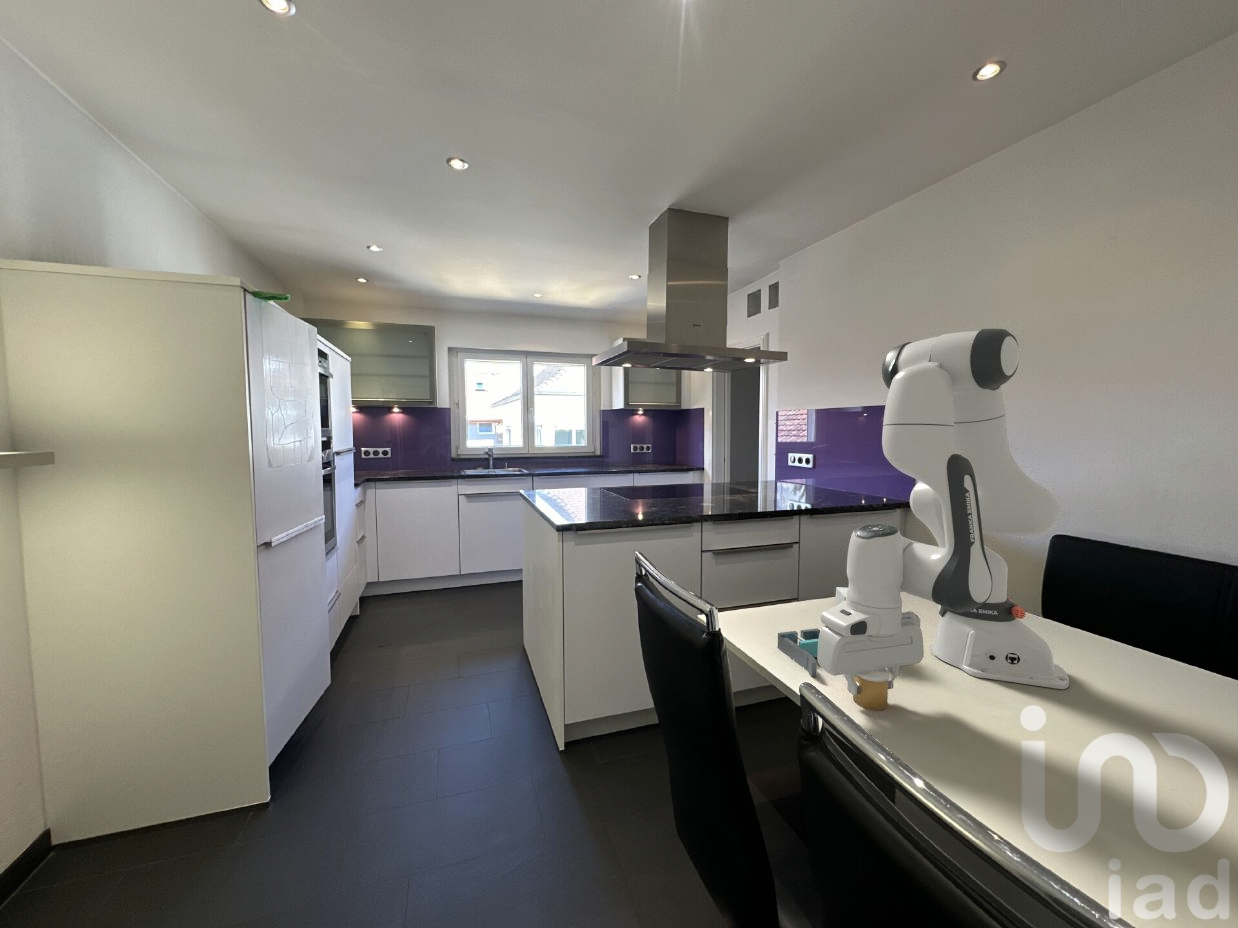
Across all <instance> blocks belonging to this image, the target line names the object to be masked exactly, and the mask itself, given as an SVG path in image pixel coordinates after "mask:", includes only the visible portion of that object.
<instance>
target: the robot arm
mask: <svg viewBox="0 0 1238 928" xmlns="http://www.w3.org/2000/svg"><path fill="white" fill-rule="evenodd" d="M1019 362H1020V347H1019V343H1018V340H1017V338H1016V336H1015V335H1014V334H1012V333H1011V332H1010V331H1009V330H1007V329H1005V328H982V329H980V330H972V331H971V330H969V331H959V332H950V333H943V334H941V335H939V336H933V337H929V338H925V339H921V340H917V341H913V342H911V341H910V342H909V341H907V342H905V343H901V344H899V345H896V346H894V347H893V348H891V349H890V350H889V352H888V353H887V354H886V356H885V357H884V359H883V361H882V365H881V375H882V380H883V382H884V385H885V386H886V388H887V389H888V393H887V397H886V402H885V408H884V414H883V421H882V422H883V423H882V435H881V445H882V452H883V455H884V457H885V458H886V460H887V461H888V462H889V463H890V464H891V465H892V466H893V467H894V469H896V470H898V471H899V472H901V473H903V474H905V475H907V476H908V477H910V478H913V479H915V480H917V481H919V482H917V484H915V486H913V487H912V490H911V492H910V495H909V496H910V497H909V506H910V510H911V511H912V513H913V514H914V516H915V518H917V519H918V520H919V521H920V522H921V523H922V524H924V525H925V527H927V528H928V530H929V531H930V532H931V534H932V535H933V537H934V539H935V541H936V544H937V546H936V545H932V544H927V543H923V542H919V541H915V540H912V539H910V538H907V537H905V536H903V535H902V534H901V531H900V530H899V528H897V527H895V526H894V525H893V526H892V525H890V524H884V523H883V524H882V523H876V524H874V523H873V524H864V525H863V524H862V525H861V526H859V527H857V528H855V529H854V530H853V531H852V533H851V536H850V539H849V543H848V548H847V556H846V559H847V560H846V576H847V580H848V587H847V588H848V590H847V593H846V600H845V601H843V602H841V603H840V604H838V605H836V606H833V607H831V608H828V609H826V610H824V611H822V613H821V614H820V621H821V623H822V624H823V625H824V626H823V627H822V628H821V629H820V634H819V640H818V653H817V657H816V658H817V664H819V666H820V668H821V669H822V670H824V671H825V672H826V673H828V674H829V675H831V676H841V675H843V676H844V678H845V681H846V682H847V691H848V693H850V694H851V695H852V696H853V695H857V694H861V689H862V685H860V684H859V683H857V682H856V680H855V678H854V677H857V672H863V671H869V670H876V669H883V668H885V669H886V670H887V671H888V672H889V679H888V690H892V689H894V681H895V680H896V678H897V676H898V674H899V673H900V669H901V668H900V667H902V666H908V665H909V666H910V665H916V664H920V663H922V661H923V660H924V659H923V658H924V655H925V652H924V651H925V649H924V638H923V632H922V631H923V630H922V629H921V618H920V617H919V616H918V614H917V613H915V612H913V611H911V610H910V611H905V612H902V610H903V600H902V596H901V593H906V594H907V595H911V596H914V597H918V598H920V599H924V600H927V601H930V602H933V603H934V604H937V606H938V607H937V610H938V611H937V612H938V615H939V620H938V624H937V629H936V632H935V636H934V639H933V642H932V644H931V647H930V651H931V653H932V654H933V655H934V656H935V657H937V658H938V659H939V660H941V661H943V662H945V663H947V664H949V665H951V666H954V667H956V668H959V669H960V670H962V671H964V672H965V673H967V674H969V675H971V676H973V677H976V678H982V679H988V680H989V679H990V680H994V681H995V680H996V681H1003V682H1010V683H1018V684H1024V685H1030V686H1036V687H1037V686H1038V687H1045V688H1050V689H1051V688H1052V689H1059V690H1065V689H1067V688H1069V686H1070V679H1069V678H1070V677H1069V675H1068V673H1067V672H1066V670H1064V669H1063V668H1062V666H1061V665H1060V664H1058V663H1057V662H1056V661H1055V660H1054V657H1053V653H1052V650H1051V648H1050V646H1049V644H1048V642H1047V641H1046V640H1045V639H1044V638H1043V637H1042V636H1040V635H1039V634H1038V633H1037V632H1036V631H1034V630H1033V629H1032V628H1031V627H1029V626H1028V625H1026V623H1024V622H1023V621H1021V620H1022V619H1024V618H1026V615H1027V613H1026V611H1024V609H1023V608H1022V607H1021V606H1019V605H1018V604H1017V603H1016V602H1014V601H1013V600H1012V599H1010V598H1008V597H1007V594H1008V593H1007V591H1008V577H1009V576H1008V574H1009V573H1008V572H1009V568H1008V564H1007V562H1006V561H1005V560H1004V558H1003V557H1002V556H1001V555H1000V554H999V553H997V552H995V551H994V550H992V549H990V548H989V547H988V546H986V545H985V541H984V534H983V533H987V534H988V533H989V534H994V535H1000V536H1007V537H1008V536H1009V537H1040V536H1044V535H1046V534H1047V533H1048V532H1050V531H1051V530H1052V529H1053V528H1054V527H1055V526H1056V524H1057V522H1058V520H1059V516H1060V506H1059V502H1058V501H1057V499H1056V497H1055V495H1054V494H1053V493H1052V492H1051V491H1050V490H1049V489H1047V488H1046V487H1045V486H1042V485H1040V484H1039V483H1038V482H1036V481H1034V479H1031V478H1030V477H1029V476H1028V475H1027V474H1026V473H1025V472H1024V471H1023V470H1022V469H1021V468H1020V465H1018V463H1017V462H1016V460H1015V458H1014V455H1013V454H1012V452H1011V449H1010V443H1009V439H1008V438H1009V437H1008V430H1007V420H1006V419H1007V417H1006V406H1005V404H1006V403H1005V397H1004V391H1003V389H1002V388H1003V387H1002V385H1005V384H1007V383H1008V381H1010V380H1011V379H1012V378H1013V377H1014V375H1015V374H1016V373H1017V370H1018V367H1019Z"/></svg>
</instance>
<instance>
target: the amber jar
mask: <svg viewBox="0 0 1238 928" xmlns="http://www.w3.org/2000/svg"><path fill="white" fill-rule="evenodd" d="M854 678H855V680H856V682H857V683H859V684H860V685H862V689H861V694H857V695H852V700H853V701H854V703H855V704H857V705H858V706H859V707H861V708H864V709H866V710H871V711H877V712H879V711H884V710H886V709H887V708H888V700H889V699H888V696H889V689H888V679H889V672H888V671H887V670H886V668H883V669H876V670H869V671H863V672H857V677H854Z"/></svg>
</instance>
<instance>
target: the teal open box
mask: <svg viewBox="0 0 1238 928" xmlns="http://www.w3.org/2000/svg"><path fill="white" fill-rule="evenodd" d="M818 640H819V639H812V640H804V639H803V638H801V637H800V635H798V646H800V647H801V648H803V649H804V650H805V651H807V652H808V653H810V654H811V655H812V656H813V658H817V653H818Z"/></svg>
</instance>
